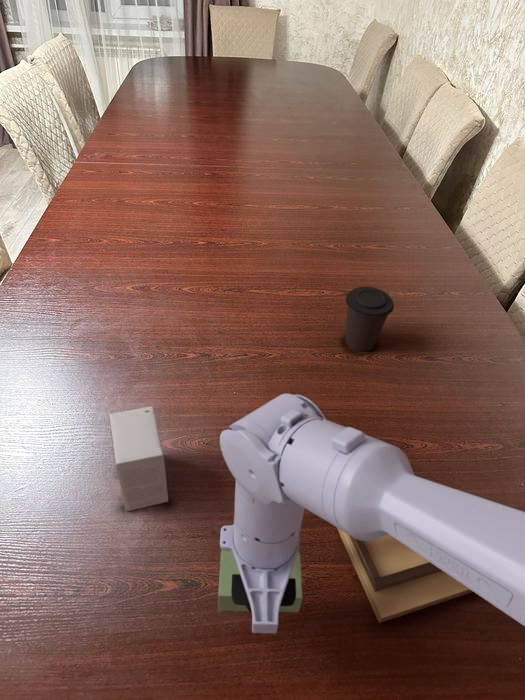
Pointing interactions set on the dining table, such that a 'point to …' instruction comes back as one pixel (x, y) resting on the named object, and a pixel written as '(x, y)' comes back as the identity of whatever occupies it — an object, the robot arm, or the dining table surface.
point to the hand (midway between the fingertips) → (259, 582)
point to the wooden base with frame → (398, 577)
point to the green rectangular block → (230, 567)
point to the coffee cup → (366, 316)
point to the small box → (138, 458)
